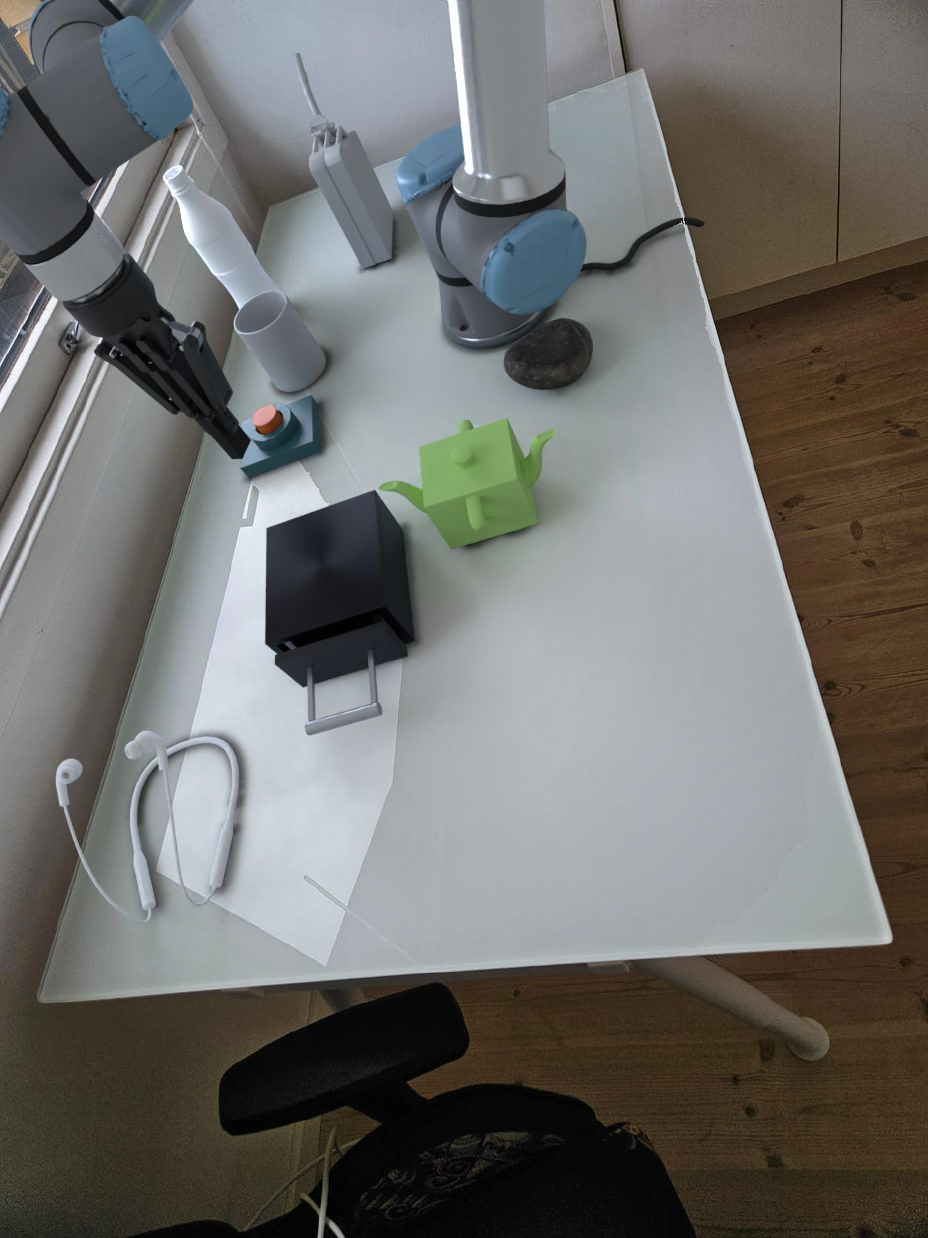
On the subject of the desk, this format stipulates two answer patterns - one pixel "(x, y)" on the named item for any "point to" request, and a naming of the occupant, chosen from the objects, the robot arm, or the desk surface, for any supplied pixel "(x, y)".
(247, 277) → the water bottle
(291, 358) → the mug
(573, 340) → the stone
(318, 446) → the stop button base
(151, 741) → the earphone
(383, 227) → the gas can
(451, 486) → the teapot
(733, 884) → the desk surface
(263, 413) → the stop button
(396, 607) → the black box
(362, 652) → the drawer
